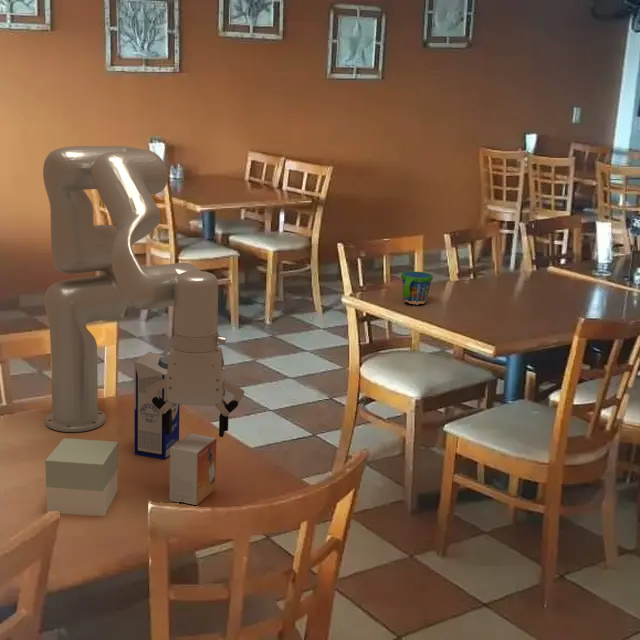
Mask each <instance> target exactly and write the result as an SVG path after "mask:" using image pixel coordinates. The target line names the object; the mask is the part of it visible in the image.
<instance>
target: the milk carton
mask: <svg viewBox="0 0 640 640" xmlns="http://www.w3.org/2000/svg"><path fill="white" fill-rule="evenodd" d="M168 361H169V357H165V356H163V355H161V354H159V353H156V352H152V351H148V352H146V353H145V354H143V355H142V356H140V357H138V358H137V359H135V360H134V361H133V362H134V366H133V367H134V374H133V375H134V379H133V380H134V381H133V382H134V384H133V385H134V386H133V387H134V413H133V414H134V418H133V419H134V423H133V424H134V431H133V432H134V436H133V437H134V439H133V440H134V445H133V447H134V449H133V450H134V451H133V453H134V455H135V456H141V457H144V458H145V457H146V458H151V459H157V460H163V461H165V460H166V459H168V458H170V448H171V447H172V446H174V445H176V444H177V443H178V442H180V406H181V405H177V404H173V406H172V407H171V410H172V430H171V432H170V434H169V435H165V429H163V428H162V413H161V412H160V410H159V409H158V408H157V407H156V406H155V405H154V404H153V403H152V400H151V399H150V397H149V395H148V393H147V391H146V390H147V388H148V386H150V385H152V384H154V383H157V382H159V381H161V380H163V379H165V378H167V370H168ZM157 393H158V396H160V397H161V398H162V399H163V400H164V401H166V400H167V398H166V387H165V388H163V389H161V390H158V391H157Z"/></svg>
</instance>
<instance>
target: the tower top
mask: <svg viewBox="0 0 640 640" xmlns="http://www.w3.org/2000/svg"><path fill="white" fill-rule="evenodd" d="M59 442H60V443H59V444H57V445H56V447H55V448H54V449H53V450H52V451H51V453H50V454H49V455H48V457H47V458H46V459H45V487H46V488H47V487H50V488H64V489H78V490H91V491H104V489H105V488H106V486H107V485H108V483H109V481H110V480H111V478H112V477H113V475H114V474H115V472H116V470H117V469H119V441H110V440H109V441H108V440H98V439H97V440H96V439H82V438H81V439H80V438H68V437H67V438H65V437H64V438H63V439H62V440H61V441H59Z"/></svg>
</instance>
